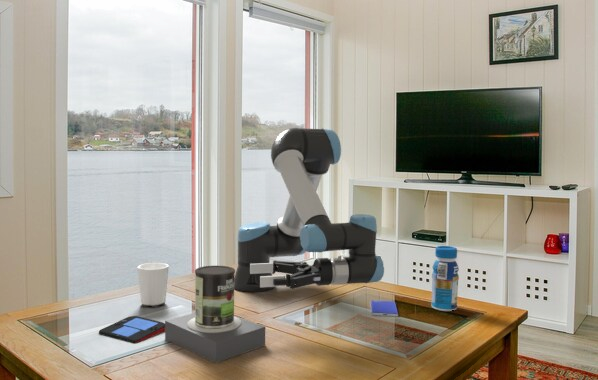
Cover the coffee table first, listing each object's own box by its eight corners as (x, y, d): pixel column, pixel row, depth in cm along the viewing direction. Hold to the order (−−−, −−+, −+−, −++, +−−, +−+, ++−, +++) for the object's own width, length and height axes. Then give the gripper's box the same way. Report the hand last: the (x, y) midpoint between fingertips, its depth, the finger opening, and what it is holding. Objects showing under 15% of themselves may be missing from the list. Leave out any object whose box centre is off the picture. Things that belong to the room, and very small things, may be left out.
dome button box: (165, 338, 140) (165, 316, 139) (213, 324, 151) (213, 304, 151) (216, 363, 125) (216, 338, 124) (265, 345, 136) (265, 322, 136)
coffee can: (242, 320, 139) (243, 268, 138) (216, 332, 131) (216, 276, 129) (213, 313, 145) (213, 263, 144) (186, 323, 136) (186, 270, 135)
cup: (139, 310, 163) (139, 270, 162) (135, 301, 172) (135, 263, 171) (171, 307, 167) (171, 267, 166) (166, 298, 176) (166, 261, 175)
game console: (97, 335, 143) (97, 327, 143) (132, 322, 154) (132, 314, 154) (135, 345, 136) (135, 337, 136) (169, 331, 147) (169, 323, 147)
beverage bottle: (425, 305, 174) (427, 245, 172) (447, 303, 177) (450, 244, 175) (440, 312, 166) (442, 250, 164) (462, 310, 169) (465, 249, 167)
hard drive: (370, 300, 175) (371, 311, 163) (395, 301, 174) (398, 313, 162) (370, 304, 175) (371, 316, 163) (395, 306, 174) (398, 318, 162)
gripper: (316, 248, 158) (246, 251, 152) (346, 269, 134) (265, 273, 128) (315, 273, 159) (246, 276, 153) (345, 297, 135) (264, 303, 129)
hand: (254, 275), depth 141 cm, fingers open, 13 cm apart
